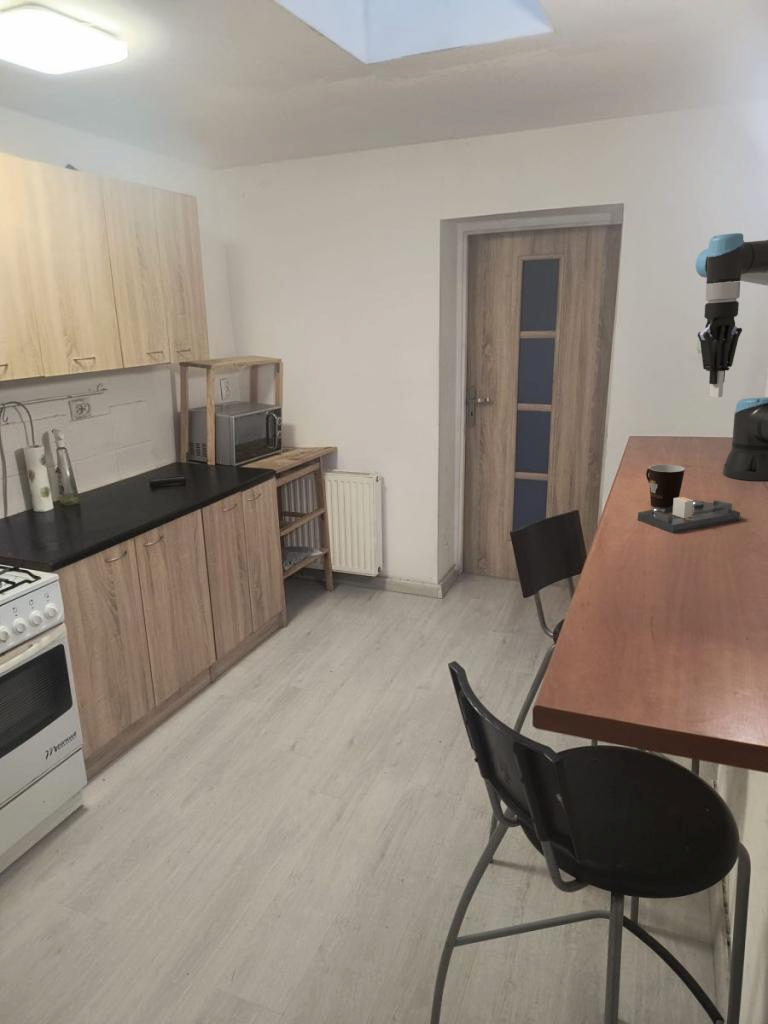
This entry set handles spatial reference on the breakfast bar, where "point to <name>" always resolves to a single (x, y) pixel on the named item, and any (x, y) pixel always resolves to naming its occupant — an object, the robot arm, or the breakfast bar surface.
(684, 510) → the fader knob
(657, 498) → the coffee mug
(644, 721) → the breakfast bar surface
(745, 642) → the breakfast bar surface
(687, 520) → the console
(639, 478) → the breakfast bar surface
